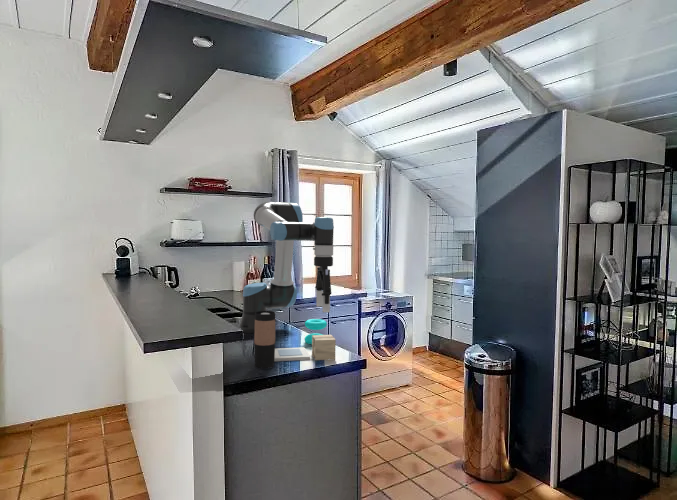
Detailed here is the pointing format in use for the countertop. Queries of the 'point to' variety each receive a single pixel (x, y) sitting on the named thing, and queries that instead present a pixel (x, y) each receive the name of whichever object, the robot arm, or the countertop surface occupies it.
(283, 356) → the white flat square slab
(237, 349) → the countertop surface
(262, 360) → the travel mug
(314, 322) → the donuts
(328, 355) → the wooden cube
